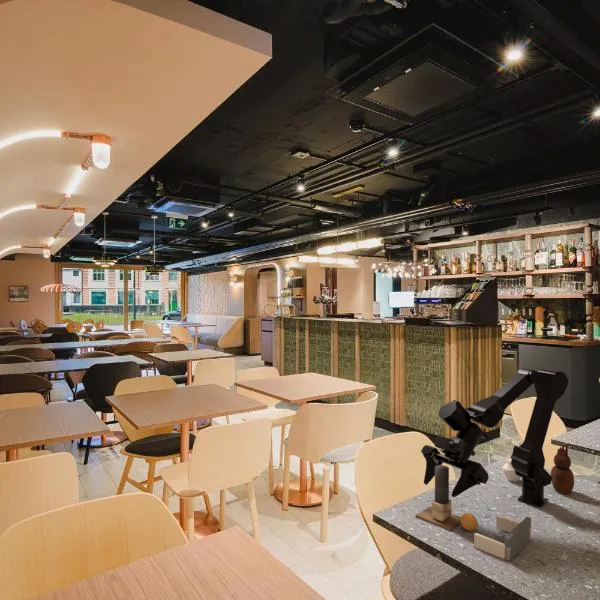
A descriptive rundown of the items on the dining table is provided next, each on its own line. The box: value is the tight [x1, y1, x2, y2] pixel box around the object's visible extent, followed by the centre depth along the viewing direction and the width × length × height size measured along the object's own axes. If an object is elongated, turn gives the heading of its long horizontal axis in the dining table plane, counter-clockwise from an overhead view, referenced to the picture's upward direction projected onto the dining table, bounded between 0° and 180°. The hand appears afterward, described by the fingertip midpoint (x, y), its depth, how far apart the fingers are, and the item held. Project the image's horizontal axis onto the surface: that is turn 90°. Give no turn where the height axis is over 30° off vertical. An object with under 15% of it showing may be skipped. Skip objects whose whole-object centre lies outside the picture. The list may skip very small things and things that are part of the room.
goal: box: [473, 514, 532, 562], centre depth 106 cm, size 14×8×5 cm, turn 134°
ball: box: [460, 512, 478, 532], centre depth 112 cm, size 4×4×4 cm
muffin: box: [502, 458, 521, 483], centre depth 144 cm, size 6×6×7 cm
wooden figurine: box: [550, 444, 575, 495], centre depth 136 cm, size 7×6×15 cm
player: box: [431, 464, 452, 521], centre depth 117 cm, size 5×4×13 cm
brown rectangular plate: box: [415, 505, 462, 531], centre depth 117 cm, size 8×10×1 cm
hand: (438, 489), depth 116 cm, fingers open, 9 cm apart
